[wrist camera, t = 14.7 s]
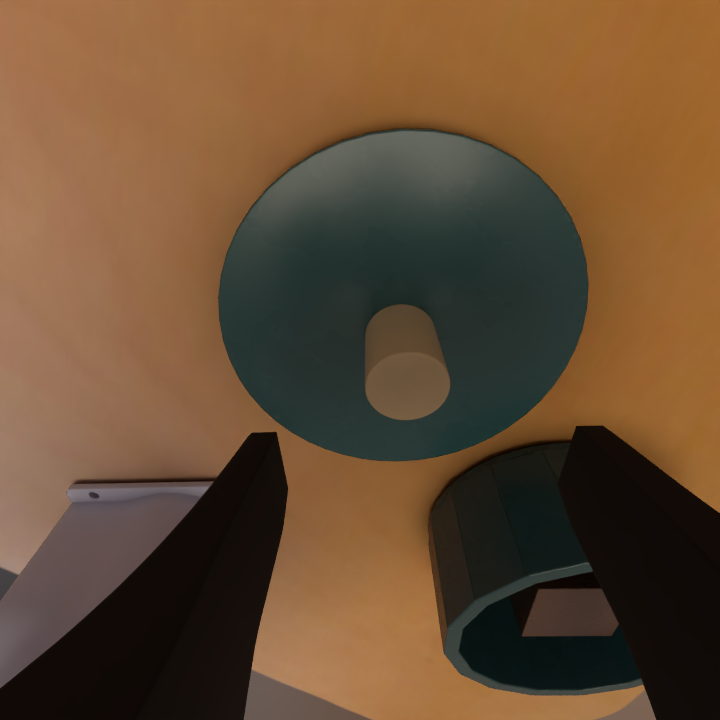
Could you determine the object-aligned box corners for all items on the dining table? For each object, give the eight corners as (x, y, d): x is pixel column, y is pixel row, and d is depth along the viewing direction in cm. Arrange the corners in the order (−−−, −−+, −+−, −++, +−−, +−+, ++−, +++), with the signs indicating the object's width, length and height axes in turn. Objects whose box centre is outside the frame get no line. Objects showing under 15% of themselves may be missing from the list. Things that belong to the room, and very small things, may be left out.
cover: (260, 447, 20) (236, 527, 16) (184, 137, 13) (108, 153, 9) (537, 441, 19) (577, 522, 16) (623, 115, 12) (736, 122, 8)
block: (497, 553, 24) (521, 636, 20) (508, 504, 21) (538, 589, 18) (573, 551, 24) (612, 636, 20) (593, 503, 21) (642, 588, 17)
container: (423, 583, 26) (437, 696, 21) (434, 445, 20) (457, 562, 15) (618, 581, 26) (678, 695, 21) (697, 439, 19) (812, 558, 14)
